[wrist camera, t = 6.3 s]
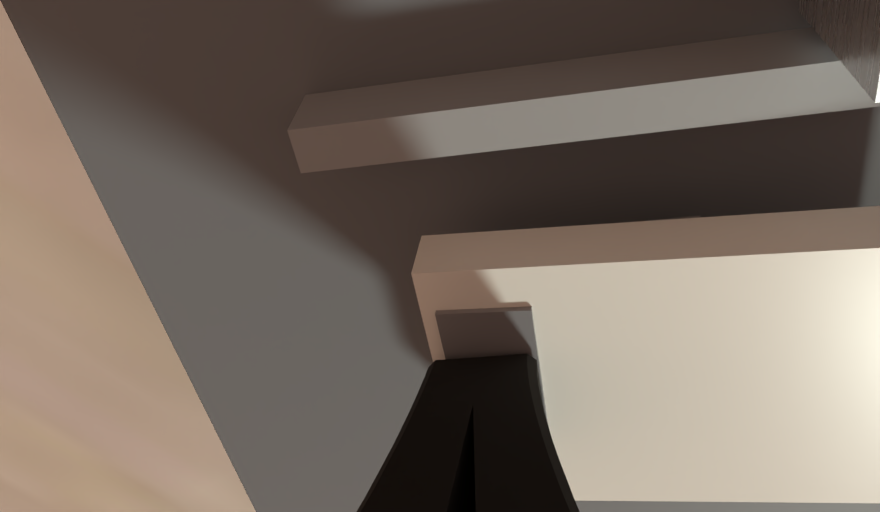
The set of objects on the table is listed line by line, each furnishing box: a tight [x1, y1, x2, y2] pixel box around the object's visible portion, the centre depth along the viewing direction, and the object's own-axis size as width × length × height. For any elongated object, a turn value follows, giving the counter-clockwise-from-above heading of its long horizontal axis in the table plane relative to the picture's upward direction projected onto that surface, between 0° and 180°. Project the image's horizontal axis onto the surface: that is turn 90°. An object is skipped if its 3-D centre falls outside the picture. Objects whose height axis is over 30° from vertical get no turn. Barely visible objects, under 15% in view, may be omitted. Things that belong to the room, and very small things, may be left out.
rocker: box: [411, 206, 880, 503], centre depth 10 cm, size 6×4×1 cm
